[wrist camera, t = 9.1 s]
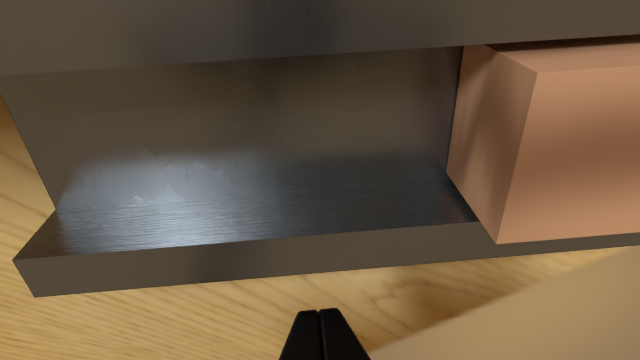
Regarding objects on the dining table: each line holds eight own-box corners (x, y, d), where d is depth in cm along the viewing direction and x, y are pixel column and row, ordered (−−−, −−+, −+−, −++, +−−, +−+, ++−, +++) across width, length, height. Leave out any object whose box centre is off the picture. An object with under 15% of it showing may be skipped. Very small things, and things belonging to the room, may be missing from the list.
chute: (580, 212, 22) (644, 271, 18) (94, 252, 20) (50, 323, 17) (696, -103, 14) (848, -120, 10) (-49, -65, 13) (-186, -68, 9)
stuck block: (574, 162, 18) (662, 230, 14) (446, 172, 18) (496, 244, 14) (619, 25, 15) (750, 58, 11) (465, 34, 15) (537, 72, 11)
